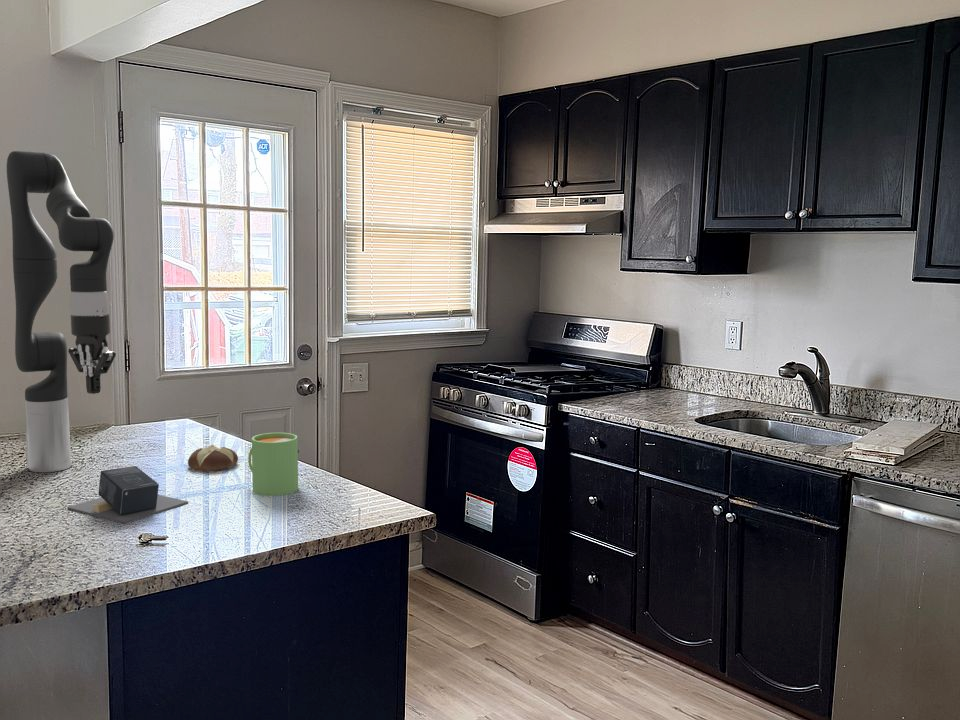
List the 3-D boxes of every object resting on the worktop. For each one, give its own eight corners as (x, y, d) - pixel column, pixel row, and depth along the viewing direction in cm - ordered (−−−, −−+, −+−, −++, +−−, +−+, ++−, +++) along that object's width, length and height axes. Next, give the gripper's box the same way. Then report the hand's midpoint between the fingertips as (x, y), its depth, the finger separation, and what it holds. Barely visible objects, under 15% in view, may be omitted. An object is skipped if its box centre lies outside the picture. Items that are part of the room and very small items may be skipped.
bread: (180, 469, 213) (179, 449, 212) (213, 459, 223) (212, 440, 222) (215, 475, 208) (215, 455, 207) (247, 464, 218) (246, 445, 217)
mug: (308, 486, 199) (307, 435, 198) (279, 498, 190) (278, 444, 188) (264, 479, 205) (263, 429, 203) (234, 490, 195) (233, 438, 194)
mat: (67, 508, 180) (66, 500, 180) (131, 490, 194) (131, 482, 194) (125, 523, 171) (124, 514, 171) (188, 503, 185) (187, 494, 185)
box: (97, 495, 181) (119, 515, 174) (100, 470, 180) (122, 489, 173) (134, 489, 187) (157, 509, 180) (136, 465, 186) (159, 483, 179)
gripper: (54, 312, 183) (58, 392, 186) (94, 315, 177) (98, 398, 179) (85, 309, 190) (89, 387, 192) (125, 313, 183) (129, 393, 186)
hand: (93, 393), depth 186 cm, fingers closed
